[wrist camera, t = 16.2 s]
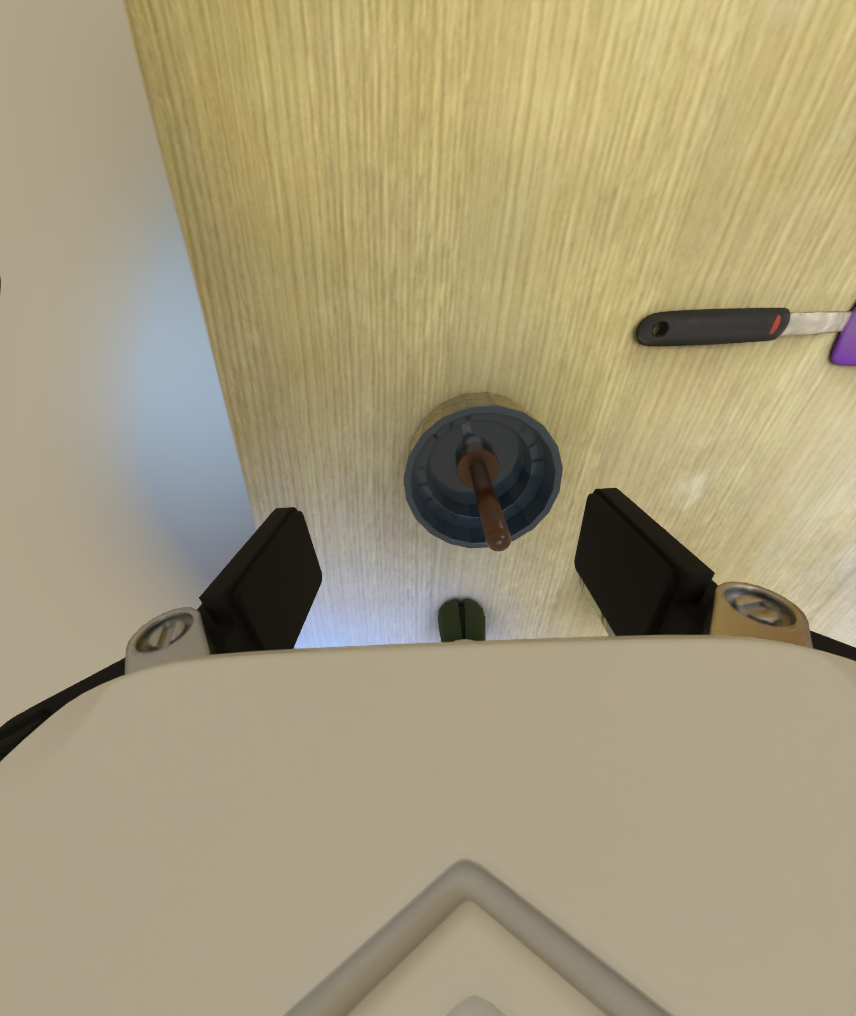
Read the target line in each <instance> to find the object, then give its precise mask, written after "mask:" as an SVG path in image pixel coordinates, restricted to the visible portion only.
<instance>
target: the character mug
mask: <svg viewBox="0 0 856 1016" xmlns="http://www.w3.org/2000/svg"><path fill="white" fill-rule="evenodd" d="M464 601H465V607H462V606H461V607H458V600H453V601H451V602H448V603H446V604H445V605H444V606H443V607H442V608H441V609H440V610H439V615H438V624H439V632H440V637H441V642H463V641H485V616H484V612H483V609H482V608H481V607H480V606H479V605H478V604H477V603H475V602H473V601H470V600H464Z"/></svg>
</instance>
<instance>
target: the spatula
mask: <svg viewBox="0 0 856 1016" xmlns="http://www.w3.org/2000/svg"><path fill="white" fill-rule="evenodd" d="M656 324H660V330H659V332H658V333H657V334H656V335H654V334H653V330H654V328H655V326H656ZM829 332H840V334H839V336H838V338H837V341H836V343H835V345H834V348H833V351H832V354H831V361H832V362H833V363H834V364H837V365H847V366H856V305H855V307H854V308H853V310H851V311H847V312H843V311H842V312H838V311H837V312H803V313H802V312H799V313H790V312H789V310H788V309H787V308H745V309H741V308H738V309H701V310H680V311H668V312H659V313H654V314H651V315H649V316H647V317H646V318H644V319H643V320H642V321H641V323H640V324H639V326H638V328H637V331H636V337H637V340H638V341H639V342H640V343H641V344H643V345H648V346H686V345H709V344H728V343H743V342H760V341H770V340H774V339H776V338H777V337H779V336H788V335H807V334H818V333H829Z"/></svg>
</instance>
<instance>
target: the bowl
mask: <svg viewBox="0 0 856 1016" xmlns="http://www.w3.org/2000/svg"><path fill="white" fill-rule="evenodd" d="M473 443H482V444H485V445H487V446H489V447H490V448H491V449H492V450H493V451H494V453H495V455H496V457H497V459H498V462H499V466H500V469H499V474H498V476H497V478H496V479H495V481H494V482H493V483H492V484H493V487H494V490H495V492H496V495H497V498H498V501H499V504H500V507H501V509H502V512H503V515H504V518H505V521H506V523H507V526H508V529H509V532H510V535H511V541H514V540H516V539H517V538H519V537H521V536H522V535H524V534H526V533H527V532H529V531H531V530H532V529H533V528H535V527H536V525H537V524H538V523H539V522H540V521H541V520H542V519H543V518H544V517H545V516H546V515H547V514H548V513H549V511H550V509H551V507H552V505H553V503H554V502H555V500H556V498H557V496H558V494H559V491H560V484H561V477H562V469H563V468H562V463H561V459H560V454H559V449H558V446H557V444H556V443H555V441H554V440H553V438H552V437H551V435H550V434H549V432H548V431H547V430H546V428H545V427H544V426H543V425H542V424H541V423H540V422H539V421H538V420H537V419H536V418H535V417H533V416H532V415H531V414H530V413H529V412H528V411H527V410H526V409H524V408H523V407H521V406H520V405H518V404H517V403H515V402H514V401H513V400H511V399H509V398H507V397H503V396H499V395H495V394H492V393H487V392H484V393H471V394H464V395H460V396H458V397H455V398H453V399H451V400H448V401H446V402H443V403H442V404H440V405H439V406H438V407H437V408H436V409H434V410H433V411H432V412H431V413H430V414H429V415H427V416H426V417H425V419H424V420H423V421H422V423H421V425H420V426H419V428H418V429H417V431H416V433H415V434H414V436H413V439H412V444H411V448H410V452H409V457H408V461H407V466H406V470H405V475H404V485H405V493H406V500H407V503H408V505H409V506H410V508H411V510H412V512H413V514H414V516H415V518H416V520H417V521H418V522H419V523H420V524H421V525H422V526H423V527H424V528H425V529H426V530H427V531H428V532H429V533H431V534H432V535H434V536H436V537H438V538H440V539H442V540H444V541H445V542H447V543H450V544H453V545H458V546H463V547H467V548H483V547H488V545H487V543H486V540H485V536H484V531H483V527H482V523H481V518H480V514H479V509H478V505H477V500H476V496H475V492H474V488H470V487H467V486H466V485H464V484H463V483H462V482H461V481H460V479H459V477H458V474H457V467H456V459H457V456H458V454H459V452H460V451H461V450H462V449H463V448H464V447H466V446H467V445H470V444H473Z"/></svg>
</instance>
